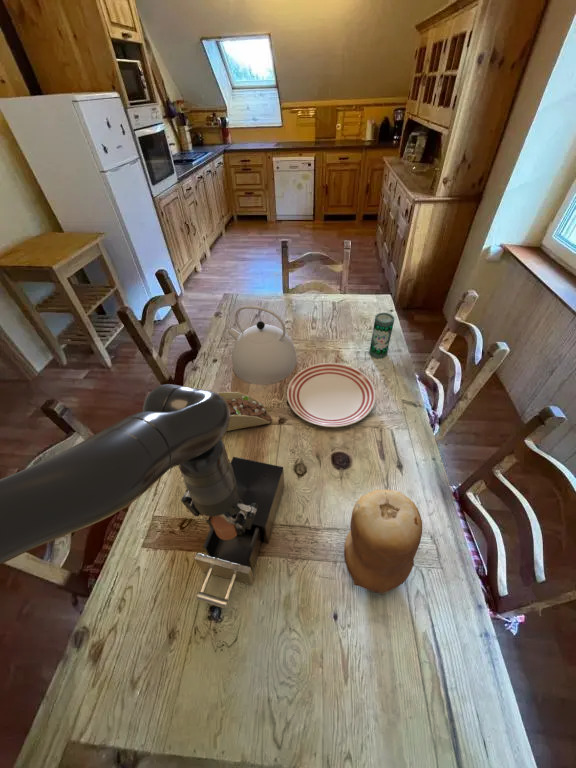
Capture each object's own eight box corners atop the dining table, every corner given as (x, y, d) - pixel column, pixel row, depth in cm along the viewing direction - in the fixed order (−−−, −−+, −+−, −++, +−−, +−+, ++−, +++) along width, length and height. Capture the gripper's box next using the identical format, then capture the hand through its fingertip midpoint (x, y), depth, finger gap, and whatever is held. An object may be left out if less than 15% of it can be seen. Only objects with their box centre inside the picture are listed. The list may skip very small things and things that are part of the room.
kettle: (215, 373, 118) (201, 318, 102) (245, 336, 133) (237, 283, 117) (281, 391, 111) (277, 335, 95) (305, 350, 126) (305, 295, 110)
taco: (274, 431, 99) (271, 408, 92) (180, 448, 96) (170, 426, 89) (268, 407, 106) (266, 384, 99) (180, 422, 103) (171, 399, 96)
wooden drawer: (242, 618, 66) (237, 609, 61) (189, 602, 68) (179, 591, 63) (271, 522, 79) (268, 507, 74) (225, 511, 81) (220, 496, 76)
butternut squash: (359, 521, 80) (374, 462, 62) (415, 555, 74) (449, 501, 56) (329, 575, 72) (337, 524, 54) (389, 618, 66) (420, 577, 48)
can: (368, 357, 122) (375, 321, 111) (369, 346, 126) (375, 311, 116) (386, 359, 121) (394, 323, 110) (386, 348, 125) (394, 313, 114)
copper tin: (244, 532, 66) (241, 521, 62) (219, 545, 64) (215, 534, 61) (235, 510, 69) (231, 498, 66) (211, 521, 67) (206, 510, 64)
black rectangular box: (268, 544, 77) (265, 527, 70) (216, 530, 79) (208, 513, 73) (284, 486, 87) (283, 466, 80) (238, 476, 89) (233, 456, 83)
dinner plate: (299, 441, 96) (299, 434, 94) (279, 377, 116) (278, 370, 113) (389, 422, 100) (391, 415, 98) (355, 363, 120) (356, 356, 117)
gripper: (159, 493, 53) (185, 536, 65) (245, 514, 50) (256, 555, 62) (181, 453, 59) (202, 500, 70) (261, 470, 56) (268, 516, 68)
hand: (227, 526), depth 66 cm, fingers closed on copper tin, 5 cm apart
